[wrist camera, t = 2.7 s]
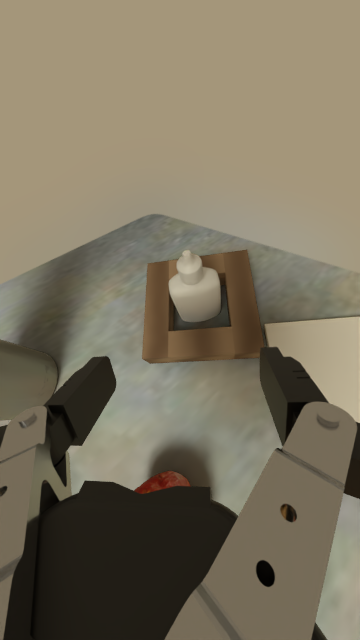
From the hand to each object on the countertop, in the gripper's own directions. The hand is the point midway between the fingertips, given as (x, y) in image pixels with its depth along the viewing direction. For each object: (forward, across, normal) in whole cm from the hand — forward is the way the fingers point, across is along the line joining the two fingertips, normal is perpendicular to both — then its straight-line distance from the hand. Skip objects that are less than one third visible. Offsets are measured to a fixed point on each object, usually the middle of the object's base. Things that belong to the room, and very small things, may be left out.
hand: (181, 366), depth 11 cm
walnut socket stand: (+18, 0, +4) cm, 19 cm away
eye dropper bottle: (+18, 0, +4) cm, 19 cm away
